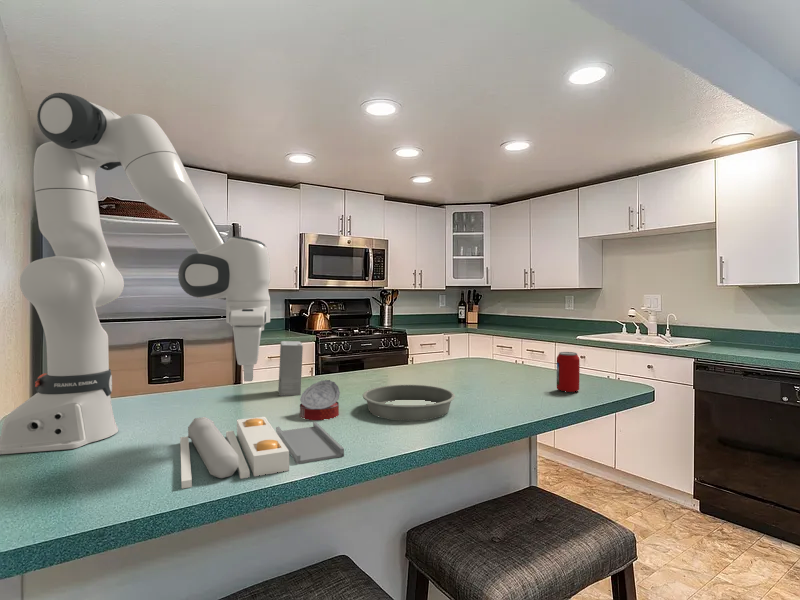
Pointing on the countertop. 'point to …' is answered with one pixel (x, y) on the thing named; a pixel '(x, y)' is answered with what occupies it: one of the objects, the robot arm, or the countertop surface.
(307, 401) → the canned food
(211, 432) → the tube
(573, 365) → the beverage can
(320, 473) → the countertop surface
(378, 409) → the cake pan
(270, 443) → the front plunger
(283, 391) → the skincare box
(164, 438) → the countertop surface
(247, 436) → the housing
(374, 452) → the countertop surface
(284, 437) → the tray
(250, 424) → the rear plunger
